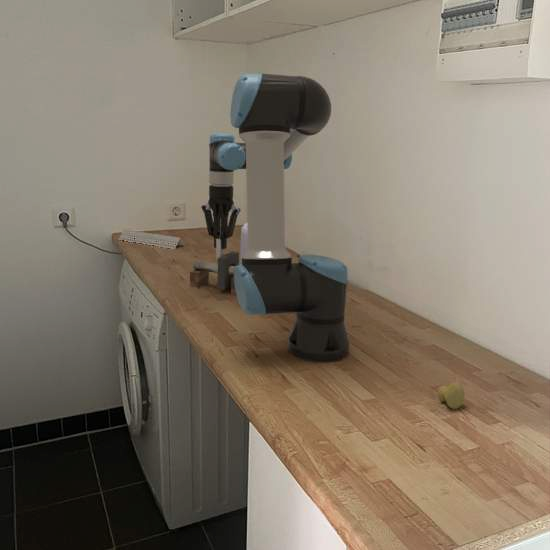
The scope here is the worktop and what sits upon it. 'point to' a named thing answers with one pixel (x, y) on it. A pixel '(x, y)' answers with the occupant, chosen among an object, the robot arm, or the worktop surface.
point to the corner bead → (151, 239)
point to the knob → (452, 395)
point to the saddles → (205, 279)
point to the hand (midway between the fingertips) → (220, 258)
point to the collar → (226, 269)
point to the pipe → (210, 267)
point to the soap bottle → (244, 241)
